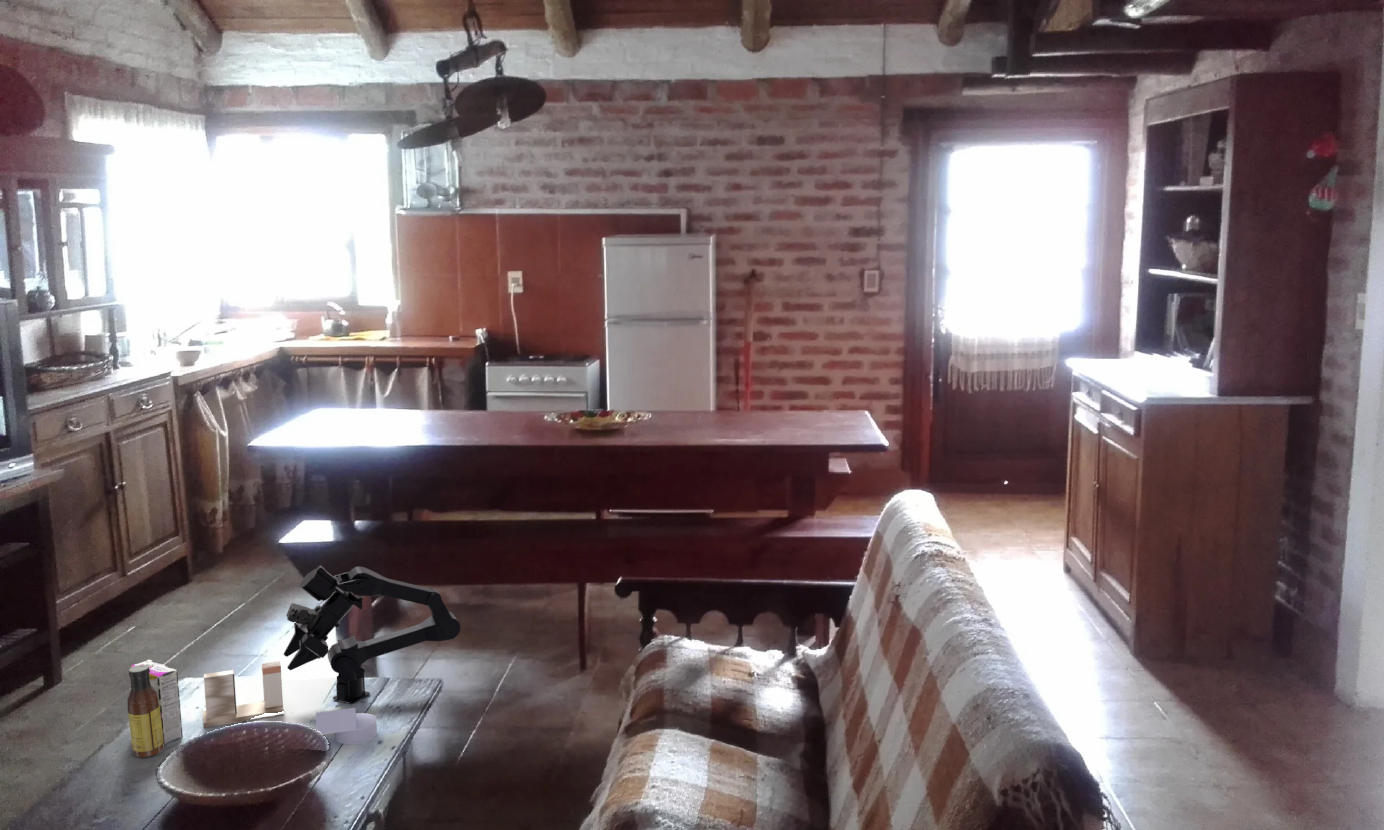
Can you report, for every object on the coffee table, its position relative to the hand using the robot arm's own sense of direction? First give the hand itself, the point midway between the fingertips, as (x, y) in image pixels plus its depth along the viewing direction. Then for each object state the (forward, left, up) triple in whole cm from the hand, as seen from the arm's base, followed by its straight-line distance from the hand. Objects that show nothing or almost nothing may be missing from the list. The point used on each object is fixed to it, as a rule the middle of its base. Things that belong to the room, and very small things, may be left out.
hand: (286, 662), depth 263 cm
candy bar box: (+24, -16, -12) cm, 31 cm away
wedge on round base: (+6, +23, -12) cm, 27 cm away
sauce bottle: (+31, -11, -12) cm, 35 cm away
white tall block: (+3, -2, -10) cm, 11 cm away
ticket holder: (+8, -7, -12) cm, 15 cm away
